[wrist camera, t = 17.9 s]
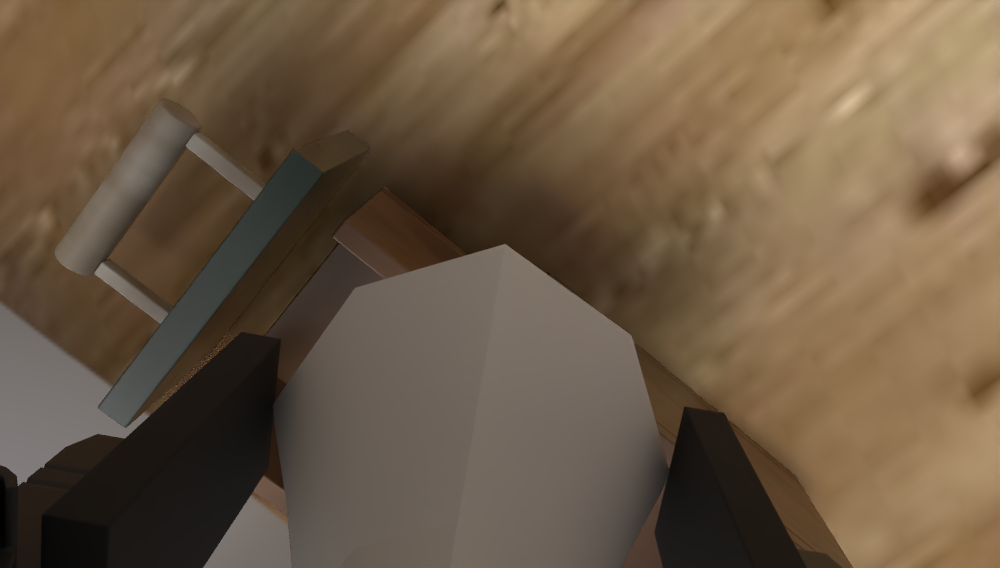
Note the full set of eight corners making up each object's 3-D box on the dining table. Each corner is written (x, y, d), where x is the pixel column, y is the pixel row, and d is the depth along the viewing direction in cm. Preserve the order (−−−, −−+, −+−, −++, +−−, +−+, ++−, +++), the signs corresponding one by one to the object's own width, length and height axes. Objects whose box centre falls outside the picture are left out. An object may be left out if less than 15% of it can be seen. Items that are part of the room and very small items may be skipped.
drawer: (93, 263, 36) (-28, 317, 28) (248, 47, 33) (162, 42, 25) (431, 519, 38) (405, 633, 30) (599, 336, 36) (617, 411, 28)
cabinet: (369, 474, 39) (315, 607, 29) (548, 271, 36) (553, 346, 26) (607, 654, 41) (629, 834, 31) (795, 475, 38) (882, 613, 28)
